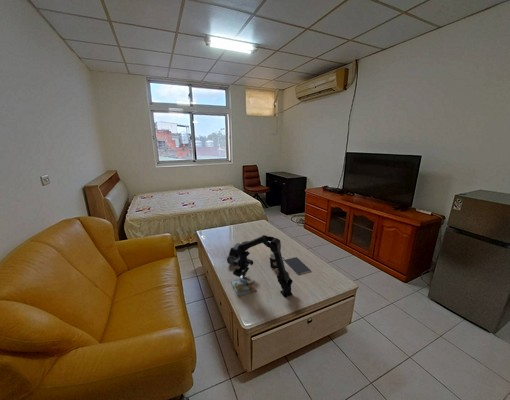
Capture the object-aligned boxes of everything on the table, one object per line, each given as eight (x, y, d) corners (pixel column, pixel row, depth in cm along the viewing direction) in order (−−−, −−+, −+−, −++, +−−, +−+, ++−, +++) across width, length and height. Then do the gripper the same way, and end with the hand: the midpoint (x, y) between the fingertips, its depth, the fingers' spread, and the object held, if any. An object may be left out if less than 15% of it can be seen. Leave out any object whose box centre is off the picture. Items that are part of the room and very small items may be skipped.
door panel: (256, 291, 150) (256, 286, 149) (237, 296, 145) (237, 292, 144) (248, 277, 164) (248, 273, 163) (230, 282, 159) (230, 278, 158)
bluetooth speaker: (237, 266, 178) (236, 256, 175) (226, 265, 180) (225, 255, 177) (243, 252, 199) (243, 243, 197) (234, 251, 201) (234, 242, 198)
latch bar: (252, 283, 156) (252, 279, 155) (249, 285, 154) (249, 281, 153) (242, 277, 162) (242, 274, 161) (239, 279, 160) (239, 276, 159)
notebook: (311, 272, 172) (296, 258, 191) (311, 270, 172) (296, 256, 191) (297, 275, 168) (284, 261, 187) (297, 273, 167) (284, 259, 186)
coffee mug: (267, 268, 176) (267, 257, 173) (271, 262, 184) (271, 252, 181) (281, 271, 172) (281, 260, 169) (284, 266, 179) (284, 255, 176)
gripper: (241, 250, 168) (241, 267, 173) (226, 262, 153) (227, 280, 158) (253, 254, 162) (253, 271, 167) (239, 267, 147) (240, 285, 152)
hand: (243, 276), depth 161 cm, fingers closed
